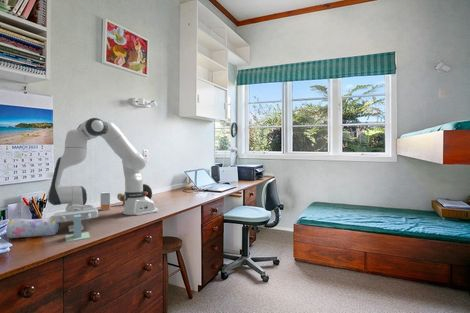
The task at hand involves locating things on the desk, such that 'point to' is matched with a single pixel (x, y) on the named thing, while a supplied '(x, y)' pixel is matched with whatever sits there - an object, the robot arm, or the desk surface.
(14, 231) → the pencil case
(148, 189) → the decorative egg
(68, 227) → the slot box
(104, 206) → the skincare box
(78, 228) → the blue cover plate
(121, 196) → the lion figurine
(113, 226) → the desk surface
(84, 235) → the green mat
